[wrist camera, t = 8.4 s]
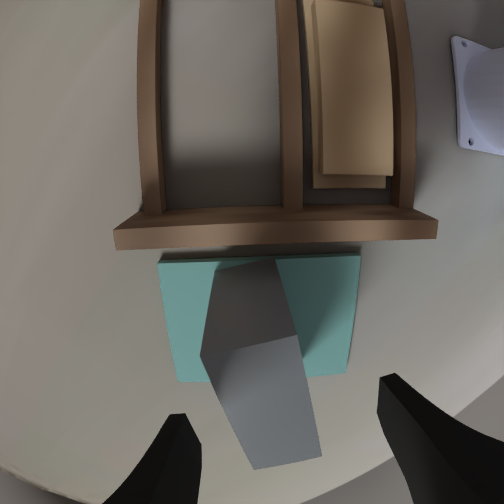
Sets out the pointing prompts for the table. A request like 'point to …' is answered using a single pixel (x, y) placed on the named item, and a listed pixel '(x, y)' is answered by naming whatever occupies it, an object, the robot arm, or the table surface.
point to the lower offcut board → (317, 178)
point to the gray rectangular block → (259, 365)
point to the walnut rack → (291, 142)
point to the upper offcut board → (352, 89)
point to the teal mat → (298, 297)
